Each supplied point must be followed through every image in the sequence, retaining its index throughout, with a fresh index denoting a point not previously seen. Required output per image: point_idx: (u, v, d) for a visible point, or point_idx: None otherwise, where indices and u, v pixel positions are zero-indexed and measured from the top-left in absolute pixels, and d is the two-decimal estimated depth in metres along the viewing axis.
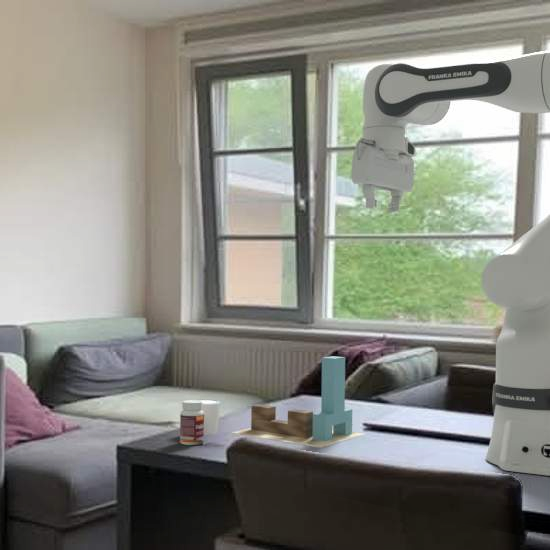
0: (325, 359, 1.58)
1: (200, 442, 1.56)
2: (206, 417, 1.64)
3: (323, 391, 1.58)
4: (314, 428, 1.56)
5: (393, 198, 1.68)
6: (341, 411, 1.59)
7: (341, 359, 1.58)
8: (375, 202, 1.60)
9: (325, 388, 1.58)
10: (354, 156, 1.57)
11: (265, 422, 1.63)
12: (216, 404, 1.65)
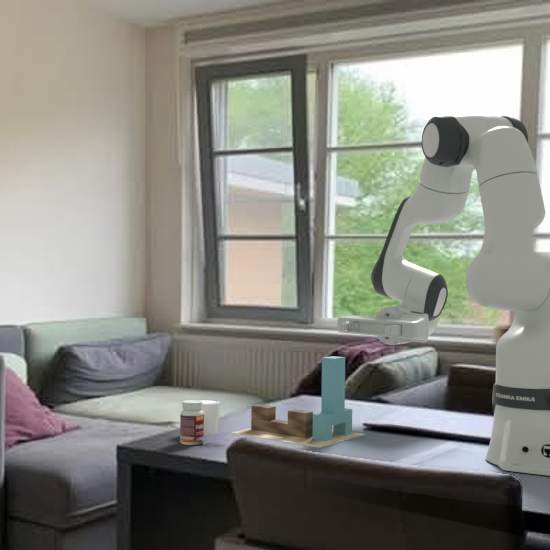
0: (325, 359, 1.58)
1: (200, 442, 1.56)
2: (206, 417, 1.64)
3: (323, 391, 1.58)
4: (314, 428, 1.56)
5: None
6: (341, 411, 1.59)
7: (341, 359, 1.58)
8: (348, 323, 1.72)
9: (325, 388, 1.58)
10: None
11: (265, 422, 1.63)
12: (216, 404, 1.65)
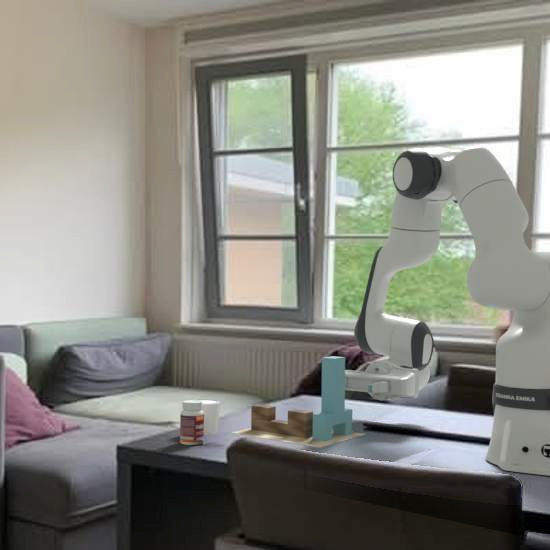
0: (325, 359, 1.58)
1: (200, 442, 1.56)
2: (206, 417, 1.64)
3: (323, 391, 1.58)
4: (314, 428, 1.56)
5: None
6: (341, 411, 1.59)
7: (341, 359, 1.58)
8: None
9: (325, 388, 1.58)
10: None
11: (265, 422, 1.63)
12: (216, 404, 1.65)
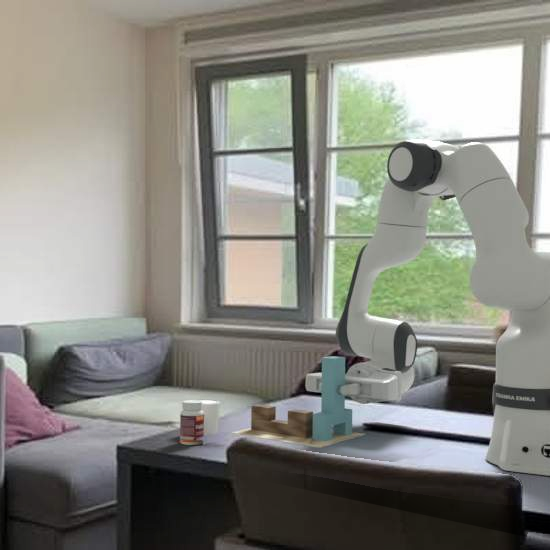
0: (325, 359, 1.58)
1: (200, 442, 1.56)
2: (206, 417, 1.64)
3: (323, 391, 1.58)
4: (314, 428, 1.56)
5: None
6: (341, 411, 1.59)
7: (341, 359, 1.58)
8: None
9: (325, 388, 1.58)
10: None
11: (265, 422, 1.63)
12: (216, 404, 1.65)
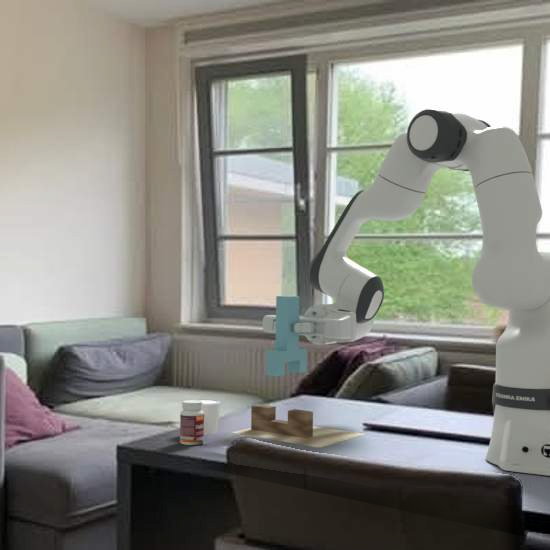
0: (279, 297, 1.61)
1: (200, 442, 1.56)
2: (206, 417, 1.64)
3: (277, 329, 1.61)
4: (267, 364, 1.59)
5: None
6: (295, 349, 1.62)
7: (295, 298, 1.61)
8: None
9: (279, 326, 1.61)
10: None
11: (265, 422, 1.63)
12: (216, 404, 1.65)
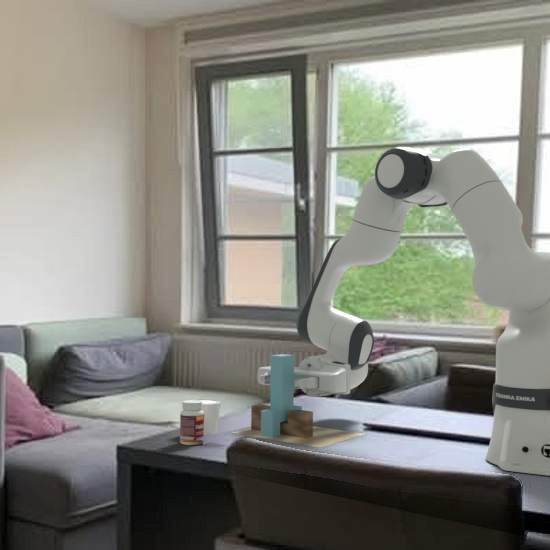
0: (274, 357, 1.61)
1: (200, 442, 1.56)
2: (206, 417, 1.64)
3: (272, 388, 1.61)
4: (262, 425, 1.58)
5: None
6: (289, 408, 1.61)
7: (290, 357, 1.61)
8: (265, 375, 1.65)
9: (274, 385, 1.61)
10: None
11: None
12: (216, 404, 1.65)
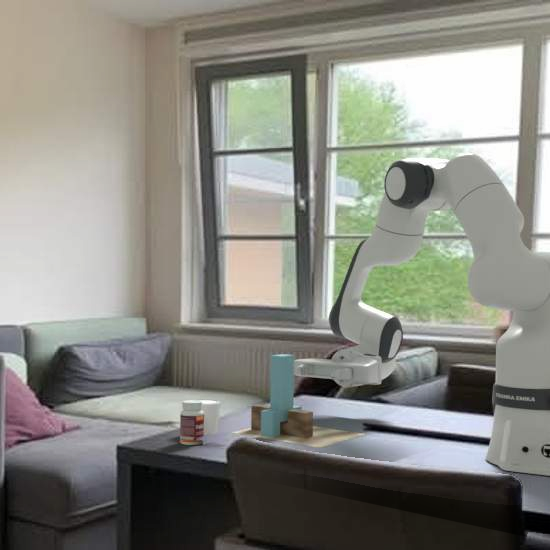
0: (274, 357, 1.61)
1: (200, 442, 1.56)
2: (206, 417, 1.64)
3: (272, 388, 1.61)
4: (262, 425, 1.58)
5: None
6: (289, 408, 1.61)
7: (290, 357, 1.61)
8: (301, 366, 1.75)
9: (274, 385, 1.61)
10: None
11: None
12: (216, 404, 1.65)
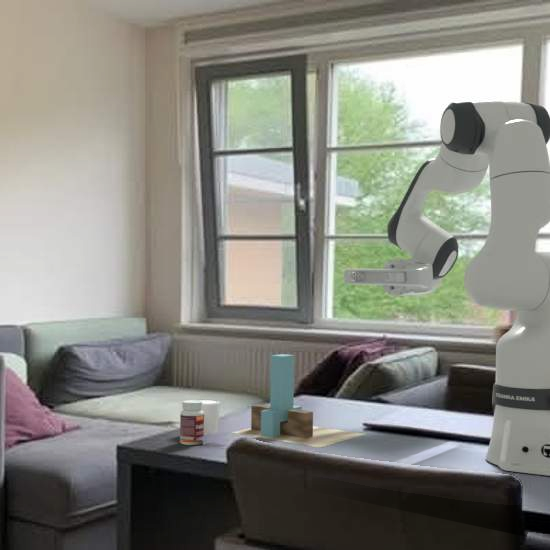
0: (274, 357, 1.61)
1: (200, 442, 1.56)
2: (206, 417, 1.64)
3: (272, 388, 1.61)
4: (262, 425, 1.58)
5: None
6: (289, 408, 1.61)
7: (290, 357, 1.61)
8: (354, 272, 1.78)
9: (274, 385, 1.61)
10: None
11: None
12: (216, 404, 1.65)
